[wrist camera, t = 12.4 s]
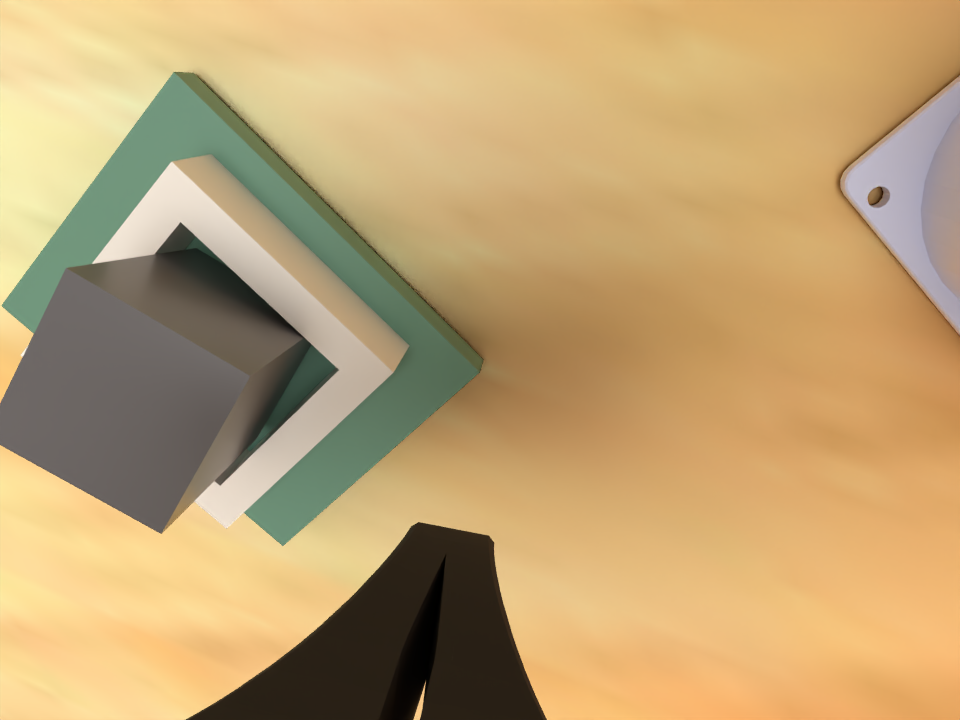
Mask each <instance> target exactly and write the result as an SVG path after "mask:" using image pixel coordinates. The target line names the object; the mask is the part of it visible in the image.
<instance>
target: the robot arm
mask: <svg viewBox="0 0 960 720" xmlns="http://www.w3.org/2000/svg"><path fill="white" fill-rule="evenodd" d="M840 186H841V190H842V192H843V194H844V196H845V197H846V198H847V199H848V200H849V202H850V203H851V204H852V205H853V206H854V208H855V209H856V210H857V211H858V213H859V214H860V215H861V216H862V217H863V219H864V220H865V221H866V222H867V223H868V225H869V226H870V227H871V228H872V230H873V231H874V232H875V233H876V234H877V236H878V237H879V238H880V239H881V241H882V242H883V243H884V244H885V245H886V247H887V248H888V249H889V250H890V251H891V253H892V254H893V255H894V256H895V258H896V259H897V260H898V261H899V262H900V264H901V265H902V266H903V267H904V268H905V270H906V271H907V272H908V273H909V275H910V276H911V277H912V278H913V279H914V281H915V282H916V283H917V284H918V285H919V287H920V288H921V289H922V290H923V292H924V293H925V294H926V295H927V296H928V298H929V299H930V300H931V301H932V302H933V304H934V305H935V306H936V307H937V309H938V310H939V311H940V312H941V313H942V315H943V316H944V317H945V318H946V320H947V321H948V322H949V323H950V324H951V326H952V327H953V328H954V329H955V330H956V332H957V333H958V334H959V335H960V76H958V77H957V78H956V79H955V80H954V81H952V82H951V83H950V84H949V85H947V86H946V87H945V88H944V89H943V90H941V91H940V92H939V93H938V94H936V95H935V96H934V97H933V98H932V99H930V100H929V101H928V102H927V103H925V104H924V105H923V106H922V107H921V108H919V109H918V110H917V111H916V112H914V113H913V114H912V115H911V116H910V117H908V118H907V119H906V120H905V121H903V122H902V123H901V124H900V125H899V126H897V127H896V128H895V129H894V130H892V131H891V132H890V133H889V134H888V135H886V136H885V137H884V138H883V139H881V140H880V141H879V142H878V143H877V144H875V145H874V146H873V147H872V148H870V149H869V150H868V151H867V152H866V153H864V154H863V155H862V156H861V157H860V158H858V159H857V160H856V161H855V162H853V163H852V164H851V165H850V166H849V167H848V168H847V169H846V170H845V171H844V172H843V175H842V177H841V180H840ZM878 186H880V187H882V190H883V197H882V199H881V200H880V201H879V203H877V204H875V205H869V203H868V201H867V198H868V194H869V193H870V191H871V190H872V189H874V188H876V187H878ZM425 682H426V685H425ZM424 685H425V693H424V702H423V710H422V714H421V718H420V720H547V719H546V717H545V715H544V713H543V711H542V709H541V706H540V704H539V702H538V700H537V698H536V696H535V693H534V691H533V689H532V686H531V684H530V681H529V679H528V676H527V674H526V671H525V669H524V666H523V663H522V661H521V658H520V655H519V653H518V650H517V647H516V644H515V641H514V638H513V635H512V632H511V629H510V625H509V622H508V618H507V615H506V611H505V608H504V605H503V601H502V597H501V593H500V588H499V583H498V578H497V573H496V567H495V559H494V542H493V541H492V539H491V538H490V537H489V536H487V535H482V534H477V533H472V532H467V531H461V530H456V529H451V528H446V527H441V526H435V525H430V524H425V523H420V522H418V523H417V524H415V525H413V526H411V528H410V529H409V531H408V532H407V534H406V535H405V537H404V538H403V539H402V541H401V542H400V543H399V545H398V546H397V547H396V548H395V550H394V551H393V552H392V553H391V555H390V556H389V557H388V558H387V559H386V560H385V562H384V563H383V564H382V565H381V566H380V567H379V568H378V569H377V571H376V572H375V573H374V574H373V575H372V576H371V577H370V578H369V579H368V580H367V581H366V582H365V583H364V584H363V585H362V586H361V588H360V589H359V590H358V591H357V592H356V593H355V594H354V595H353V596H352V597H351V598H350V599H349V600H348V601H347V602H346V603H344V604H343V605H342V606H341V607H340V608H339V609H338V610H337V611H336V612H335V613H334V614H333V615H332V616H330V617H329V618H328V619H327V620H326V621H325V622H324V623H323V624H322V625H321V626H320V627H318V628H317V629H316V630H315V631H314V632H313V633H311V634H310V635H309V636H308V637H307V638H305V639H304V640H303V641H302V642H301V643H299V644H298V645H297V646H296V647H294V648H293V649H292V650H290V651H289V652H288V653H287V654H285V655H284V656H283V657H281V658H280V659H279V660H277V661H276V662H275V663H273V664H272V665H271V666H269V667H268V668H266V669H265V670H264V671H262V672H261V673H259V674H258V675H256V676H255V677H254V678H252V679H251V680H249V681H248V682H246V683H245V684H243V685H242V686H241V687H239V688H238V689H236V690H235V691H233V692H231V693H230V694H228V695H227V696H225V697H224V698H222V699H220V700H219V701H217V702H216V703H214V704H212V705H211V706H209V707H207V708H205V709H204V710H202V711H200V712H198V713H197V714H195V715H193V716H191V717H190V718H188V719H186V720H413V719H414V716H415V713H416V710H417V706H418V703H419V700H420V697H421V694H422V691H423V688H424Z"/></svg>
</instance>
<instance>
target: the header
mask: <svg viewBox="0 0 960 720" xmlns="http://www.w3.org/2000/svg"><path fill="white" fill-rule="evenodd" d="M195 236H196V237H197V238H198V239H199V240H200V241H202V242H203V243H204V244H205V245H206V246H207V247H208V248H209V249H210V250H211V251H212V252H213V253H214V254H215V255H217V256H218V257H219V258H220V259H221V260H222V261H223V262H224V263H225V264H226V265H227V266H228V267H229V268H230V269H232V270H233V271H234V272H235V273H236V274H237V275H238V276H239V277H240V278H241V279H242V280H243V281H244V282H245V283H247V284H248V285H249V286H250V287H251V288H252V289H253V290H254V291H255V292H256V293H257V294H258V295H259V296H260V297H262V298H263V299H264V300H265V301H266V302H267V303H268V304H269V305H270V306H271V307H272V308H273V309H274V310H275V311H277V312H278V313H279V314H280V315H281V316H282V317H283V318H284V319H285V320H286V321H287V322H288V323H289V324H290V325H292V326H293V327H294V328H295V329H296V330H297V331H298V332H299V333H300V334H301V335H302V336H303V337H304V338H305V339H307V340H308V341H309V342H310V343H311V344H312V345H313V346H314V347H315V348H316V349H317V350H318V351H319V352H320V353H322V354H323V355H324V356H325V357H326V358H327V359H328V360H329V361H330V362H331V363H332V364H333V365H334V366H335V367H336V368H335V369H334V370H333V371H332V372H331V373H330V374H329V375H328V376H327V377H326V378H325V379H324V380H323V381H322V382H320V383H319V384H318V385H317V386H316V387H315V388H314V389H313V390H312V391H311V392H310V393H309V394H308V395H307V396H306V397H305V398H304V399H303V400H302V401H301V402H300V403H299V404H298V405H297V406H296V407H295V408H294V409H293V410H292V411H291V412H290V413H289V414H288V415H287V416H286V417H285V418H284V419H283V420H282V421H281V422H280V423H279V424H278V425H277V426H276V427H274V428H273V429H272V430H271V431H270V432H269V433H268V434H267V435H266V436H265V437H264V438H263V439H262V440H261V441H260V442H259V443H258V444H257V445H256V446H255V447H254V448H253V449H252V450H251V451H248V450H247V449H246V450H245V451H244V452H243V453H242V454H241V455H240V456H239V457H238V458H237V459H236V460H235V461H234V462H233V463H232V464H231V465H230V466H229V467H228V468H227V469H226V470H225V471H224V472H223V473H222V474H221V475H220V476H219V477H218V478H217V479H216V480H215V481H214V482H213V483H212V484H211V485H210V486H209V487H208V488H207V489H206V490H205V491H204V492H203V493H202V494H201V495H200V496H199V497H198V498H197V499H196V500H195V501H194V502H195V503H197V504H198V505H199V506H200V507H201V508H202V509H204V510H205V511H206V512H207V513H208V514H210V515H211V516H212V517H213V518H214V519H215V520H217V521H218V522H219V523H220V524H221V525H223V526H224V527H225V528H226V529H227V528H228V527H229V526H230V525H231V524H232V523H233V522H234V521H235V520H236V519H237V518H239V517H240V516H241V515H242V514H243V513H244V512H245V511H246V510H247V509H248V508H249V507H250V506H251V505H252V504H253V503H255V502H256V501H257V500H258V499H259V498H260V497H261V496H262V495H263V494H264V493H265V492H266V491H267V490H268V489H270V488H271V487H272V486H273V485H274V484H275V483H276V482H277V481H278V480H279V479H280V478H281V477H282V476H283V475H284V474H286V473H287V472H288V471H289V470H290V469H291V468H292V467H293V466H294V465H295V464H296V463H297V462H298V461H299V460H301V459H302V458H303V457H304V456H305V455H306V454H307V453H308V452H309V451H310V450H311V449H312V448H313V447H314V446H315V445H317V444H318V443H319V442H320V441H321V440H322V439H323V438H324V437H325V436H326V435H327V434H328V433H329V432H330V431H332V430H333V429H334V428H335V427H336V426H337V425H338V424H339V423H340V422H341V421H342V420H343V419H344V418H345V417H346V416H348V415H349V414H350V413H351V412H352V411H353V410H354V409H355V408H356V407H357V406H358V405H359V404H360V403H361V402H363V401H364V400H365V399H366V398H367V397H368V396H369V395H370V394H371V393H372V392H373V391H374V390H375V389H376V388H377V387H379V386H380V385H381V384H382V383H383V382H384V381H385V380H386V379H387V378H388V377H389V376H390V375H391V374H392V373H394V371H395V369H396V368H397V366H398V364H399V363H400V361H401V359H402V358H403V356H404V354H405V353H406V351H407V349H408V347H409V345H408V344H407V343H406V342H405V341H404V340H403V339H402V338H401V337H400V336H399V335H398V334H397V333H396V332H395V331H394V330H393V329H392V328H391V327H390V326H389V325H388V324H387V323H386V322H384V321H383V320H382V319H381V318H380V317H379V316H378V315H377V314H376V313H375V312H374V311H373V310H372V309H371V308H370V307H369V306H368V305H367V304H366V303H365V302H364V301H363V300H362V299H361V298H360V297H359V296H358V295H357V294H356V293H354V292H353V291H352V290H351V289H350V288H349V287H348V286H347V285H346V284H345V283H344V282H343V281H342V280H341V279H340V278H339V277H338V276H337V275H336V274H335V273H334V272H333V271H332V270H331V269H330V268H329V267H328V266H327V265H326V264H324V263H323V262H322V261H321V260H320V259H319V258H318V257H317V256H316V255H315V254H314V253H313V252H312V251H311V250H310V249H309V248H308V247H307V246H306V245H305V244H304V243H303V242H302V241H301V240H300V239H299V238H298V237H297V236H296V235H294V234H293V233H292V232H291V231H290V230H289V229H288V228H287V227H286V226H285V225H284V224H283V223H282V222H281V221H280V220H279V219H278V218H277V217H276V216H275V215H274V214H273V213H272V212H271V211H270V210H269V209H268V208H267V207H266V206H264V205H263V204H262V203H261V202H260V201H259V200H258V199H257V198H256V197H255V196H254V195H253V194H252V193H251V192H250V191H249V190H248V189H247V188H246V187H245V186H244V185H243V184H242V183H241V182H240V181H239V180H238V179H237V178H236V177H234V176H233V175H232V174H231V173H230V172H229V171H228V170H227V169H226V168H225V167H224V166H223V165H222V164H221V163H220V162H219V161H218V160H217V159H216V158H215V157H214V156H213V155H212V154H209V155H204V156H198V157H193V158H188V159H182V160H177V161H172V162H171V163H170V164H169V165H168V167H167V168H166V169H165V170H164V172H163V173H162V174H161V176H160V177H159V178H158V179H157V181H156V182H155V183H154V185H153V186H152V187H151V188H150V190H149V191H148V192H147V194H146V195H145V196H144V197H143V199H142V200H141V201H140V203H139V204H138V205H137V206H136V208H135V209H134V210H133V212H132V213H131V214H130V215H129V217H128V218H127V219H126V221H125V222H124V223H123V224H122V226H121V227H120V228H119V230H118V231H117V232H116V233H115V235H114V236H113V237H112V239H111V240H110V241H109V242H108V244H107V245H106V246H105V247H104V249H103V250H102V251H101V253H100V254H99V255H98V256H97V258H96V259H95V260H94V262H93V263H92V264H95V263H101V262H108V261H114V260H121V259H127V258H134V257H141V256H147V255H154V254H160V253H167V252H173V251H180V250H185V248H186V247H187V246H188V245H189V244H190V242H191V241H192V240H193V239H194V238H195ZM27 347H28V346H27ZM26 349H27V348H26ZM26 349H25V350H24V351H23V353H22V354H21V356H22V357H23V356H24V354H25V351H26Z"/></svg>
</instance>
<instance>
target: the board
mask: <svg viewBox="0 0 960 720" xmlns="http://www.w3.org/2000/svg"><path fill="white" fill-rule="evenodd" d="M209 154H212V155H213V156H214V157H215V158H216V159H217V160H218V161H219V162H220V163H221V164H222V165H223V166H224V167H225V168H226V169H227V170H228V171H229V172H230V173H231V174H232V175H233V176H234V177H236V178H237V179H238V180H239V181H240V182H241V183H242V184H243V185H244V186H245V187H246V188H247V189H248V190H249V191H250V192H251V193H252V194H253V195H254V196H255V197H256V198H257V199H258V200H259V201H260V202H261V203H262V204H263V205H264V206H266V207H267V208H268V209H269V210H270V211H271V212H272V213H273V214H274V215H275V216H276V217H277V218H278V219H279V220H280V221H281V222H282V223H283V224H284V225H285V226H286V227H287V228H288V229H289V230H290V231H291V232H292V233H293V234H294V235H296V236H297V237H298V238H299V239H300V240H301V241H302V242H303V243H304V244H305V245H306V246H307V247H308V248H309V249H310V250H311V251H312V252H313V253H314V254H315V255H316V256H317V257H318V258H319V259H320V260H321V261H322V262H323V263H324V264H326V265H327V266H328V267H329V268H330V269H331V270H332V271H333V272H334V273H335V274H336V275H337V276H338V277H339V278H340V279H341V280H342V281H343V282H344V283H345V284H346V285H347V286H348V287H349V288H350V289H351V290H352V291H353V292H354V293H356V294H357V295H358V296H359V297H360V298H361V299H362V300H363V301H364V302H365V303H366V304H367V305H368V306H369V307H370V308H371V309H372V310H373V311H374V312H375V313H376V314H377V315H378V316H379V317H380V318H381V319H382V320H383V321H384V322H386V323H387V324H388V325H389V326H390V327H391V328H392V329H393V330H394V331H395V332H396V333H397V334H398V335H399V336H400V337H401V338H402V339H403V340H404V341H405V342H406V343H407V344H408V345H409V347H408V349H407V351H406V353H405V354H404V356H403V358H402V359H401V361H400V363H399V364H398V366H397V368H396V369H395V371H394V373H392V374H391V375H390V376H389V377H388V378H387V379H386V380H385V381H384V382H383V383H382V384H381V385H380V386H379V387H377V388H376V389H375V390H374V391H373V392H372V393H371V394H370V395H369V396H368V397H367V398H366V399H365V400H364V401H363V402H361V403H360V404H359V405H358V406H357V407H356V408H355V409H354V410H353V411H352V412H351V413H350V414H349V415H348V416H346V417H345V418H344V419H343V420H342V421H341V422H340V423H339V424H338V425H337V426H336V427H335V428H334V429H333V430H332V431H330V432H329V433H328V434H327V435H326V436H325V437H324V438H323V439H322V440H321V441H320V442H319V443H318V444H317V445H315V446H314V447H313V448H312V449H311V450H310V451H309V452H308V453H307V454H306V455H305V456H304V457H303V458H302V459H301V460H299V461H298V462H297V463H296V464H295V465H294V466H293V467H292V468H291V469H290V470H289V471H288V472H287V473H286V474H284V475H283V476H282V477H281V478H280V479H279V480H278V481H277V482H276V483H275V484H274V485H273V486H272V487H271V488H270V489H268V490H267V491H266V492H265V493H264V494H263V495H262V496H261V497H260V498H259V499H258V500H257V501H256V502H255V503H253V504H252V505H251V506H250V507H249V508H248V509H247V510H246V511H245V512H244V513H245V514H246V515H247V516H248V517H249V518H251V519H252V520H253V521H254V522H255V523H256V524H258V525H259V526H260V527H261V528H262V529H263V530H265V531H266V532H267V533H268V534H269V535H270V536H272V537H273V538H274V539H275V540H276V541H278V542H279V543H280V544H281V545H282V546H283V545H285V544H286V543H287V542H288V541H289V540H290V539H291V538H293V537H294V536H295V535H296V534H297V533H298V532H299V531H300V530H302V529H303V528H304V527H305V526H306V525H307V524H308V523H310V522H311V521H312V520H313V519H314V518H315V517H316V516H317V515H319V514H320V513H321V512H322V511H323V510H324V509H325V508H327V507H328V506H329V505H330V504H331V503H332V502H333V501H334V500H336V499H337V498H338V497H339V496H340V495H341V494H342V493H344V492H345V491H346V490H347V489H348V488H349V487H350V486H352V485H353V484H354V483H355V482H356V481H357V480H358V479H359V478H361V477H362V476H363V475H364V474H365V473H366V472H367V471H369V470H370V469H371V468H372V467H373V466H374V465H375V464H376V463H378V462H379V461H380V460H381V459H382V458H383V457H384V456H386V455H387V454H388V453H389V452H390V451H391V450H392V449H393V448H395V447H396V446H397V445H398V444H399V443H400V442H401V441H403V440H404V439H405V438H406V437H407V436H408V435H409V434H410V433H412V432H413V431H414V430H415V429H416V428H417V427H418V426H420V425H421V424H422V423H423V422H424V421H425V420H426V419H427V418H429V417H430V416H431V415H432V414H433V413H434V412H435V411H437V410H438V409H439V408H440V407H441V406H442V405H443V404H444V403H446V402H447V401H448V400H449V399H450V398H451V397H452V396H454V395H455V394H456V393H457V392H458V391H459V390H460V389H461V388H463V387H464V386H465V385H466V384H467V383H468V382H469V381H471V380H472V379H473V378H474V377H475V376H476V375H477V374H478V373H480V370H481V366H482V363H483V359H482V358H481V357H480V356H479V355H478V354H477V353H476V352H475V351H474V350H473V349H472V348H471V347H470V346H469V345H468V344H467V343H466V342H465V341H464V340H463V339H462V338H461V337H460V336H459V335H458V334H457V333H456V332H455V331H454V330H453V329H452V328H451V327H450V326H449V325H448V324H447V323H446V322H445V321H444V320H443V319H442V318H441V317H440V316H439V315H438V314H437V313H436V312H435V311H434V310H433V309H432V308H431V307H430V306H429V305H428V304H427V303H426V302H425V301H424V300H423V299H422V298H421V297H420V296H419V295H418V294H417V293H416V292H415V291H414V290H413V289H412V288H411V287H410V286H409V285H408V284H406V283H405V282H404V281H403V280H402V279H401V278H400V277H399V276H398V275H397V274H396V273H395V272H394V271H393V270H392V269H391V268H390V267H389V266H388V265H387V264H386V263H385V262H384V261H383V260H382V259H381V258H380V257H379V256H378V255H377V254H376V253H375V252H374V251H373V250H372V249H371V248H370V247H369V246H368V245H367V244H366V243H365V242H364V241H363V240H362V239H361V238H360V237H359V236H358V235H357V234H356V233H355V232H354V231H353V230H352V229H351V228H350V227H349V226H348V225H347V224H346V223H345V222H344V221H343V220H342V219H341V218H340V217H339V216H338V215H337V214H336V213H335V212H334V211H333V210H332V209H331V208H330V207H329V206H328V205H327V204H326V203H325V202H324V201H323V200H321V199H320V198H319V197H318V196H317V195H316V194H315V193H314V192H313V191H312V190H311V189H310V188H309V187H308V186H307V185H306V184H305V183H304V182H303V181H302V180H301V179H300V178H299V177H298V176H297V175H296V174H295V173H294V172H293V171H292V170H291V169H290V168H289V167H288V166H287V165H286V164H285V163H284V162H283V161H282V160H281V159H280V158H279V157H278V156H277V155H276V154H275V153H274V152H273V151H272V150H271V149H270V148H269V147H268V146H267V145H266V144H265V143H264V142H263V141H262V140H261V139H260V138H259V137H258V136H257V135H256V134H255V133H254V132H253V131H252V130H251V129H250V128H249V127H248V126H247V125H246V124H245V123H244V122H243V121H242V120H241V119H240V118H239V117H238V116H236V115H235V114H234V113H233V112H232V111H231V110H230V109H229V108H228V107H227V106H226V105H225V104H224V103H223V102H222V101H221V100H220V99H219V98H218V97H217V96H216V95H215V94H214V93H213V92H212V91H211V90H210V89H209V88H208V87H207V86H206V85H205V84H204V83H203V82H202V81H201V80H200V79H199V78H198V77H197V76H196V75H195V74H194V73H184V72H174V73H173V74H172V75H171V77H170V78H169V79H168V81H167V82H166V83H165V85H164V86H163V88H162V89H161V90H160V92H159V93H158V94H157V96H156V97H155V98H154V100H153V101H152V102H151V104H150V105H149V107H148V108H147V109H146V111H145V112H144V113H143V115H142V116H141V117H140V119H139V120H138V121H137V123H136V124H135V125H134V127H133V128H132V130H131V131H130V132H129V134H128V135H127V136H126V138H125V139H124V140H123V142H122V143H121V144H120V146H119V147H118V149H117V150H116V151H115V153H114V154H113V155H112V157H111V158H110V159H109V161H108V162H107V163H106V165H105V166H104V167H103V169H102V170H101V172H100V173H99V174H98V176H97V177H96V178H95V180H94V181H93V182H92V184H91V185H90V186H89V188H88V189H87V191H86V192H85V193H84V195H83V196H82V197H81V199H80V200H79V201H78V203H77V204H76V205H75V207H74V208H73V209H72V211H71V212H70V214H69V215H68V216H67V218H66V219H65V220H64V222H63V223H62V224H61V226H60V227H59V228H58V230H57V231H56V233H55V234H54V235H53V237H52V238H51V239H50V241H49V242H48V243H47V245H46V246H45V247H44V249H43V250H42V251H41V253H40V254H39V256H38V257H37V258H36V260H35V261H34V262H33V264H32V265H31V266H30V268H29V269H28V270H27V272H26V273H25V275H24V276H23V277H22V279H21V280H20V281H19V283H18V284H17V285H16V287H15V288H14V289H13V291H12V292H11V293H10V295H9V296H8V298H7V299H6V300H5V302H4V303H3V304H2V307H3V308H5V309H6V310H7V311H8V312H9V313H10V314H12V315H13V316H14V317H15V318H16V319H17V320H19V321H20V322H21V323H22V324H23V325H24V326H26V327H27V328H28V329H29V330H30V331H31V332H33V333H35V331H36V329H37V327H38V325H39V323H40V320H41V318H42V316H43V314H44V312H45V310H46V308H47V306H48V304H49V302H50V300H51V298H52V296H53V294H54V292H55V289H56V287H57V285H58V283H59V281H60V279H61V277H62V275H63V273H64V271H65V269H66V268H68V267H75V266H82V265H88V264H92V263H93V262H94V260H95V259H96V258H97V256H98V255H99V254H100V253H101V251H102V250H103V249H104V247H105V246H106V245H107V244H108V242H109V241H110V240H111V239H112V237H113V236H114V235H115V233H116V232H117V231H118V230H119V228H120V227H121V226H122V224H123V223H124V222H125V221H126V219H127V218H128V217H129V215H130V214H131V213H132V212H133V210H134V209H135V208H136V206H137V205H138V204H139V203H140V201H141V200H142V199H143V197H144V196H145V195H146V194H147V192H148V191H149V190H150V188H151V187H152V186H153V185H154V183H155V182H156V181H157V179H158V178H159V177H160V176H161V174H162V173H163V172H164V170H165V169H166V168H167V167H168V165H169V164H170V163H171V162H172V161H177V160H182V159H188V158H193V157H198V156H204V155H209ZM193 248H197V249H199V250H200V251H202V252H204V253H205V254H207V255H209V256H210V257H212V258H214V259H215V260H217V261H219V262H220V263H222V264H224V265H225V266H227V265H226V264H225V263H224V262H223V261H222V260H221V259H220V258H219V257H218V256H217V255H215V254H214V253H213V252H212V251H211V250H210V249H209V248H208V247H207V246H206V245H205V244H204V243H203V242H202V241H200V240H199V239H198V238H197V237H196V236H195V238H194V239H193V240H192V241H191V242H190V244H189V245H188V246H187V247H186V248H185V250H186V249H193ZM227 267H228V266H227ZM335 368H336V367H335V366H334V365H333V364H332V363H331V362H330V361H329V360H328V359H327V358H326V357H325V356H324V355H323V354H322V353H320V352H319V351H318V350H317V349H316V348H315V347H314V346H313V345H312V344H311V346H310V348H309V349H308V351H307V353H306V355H305V356H304V358H303V360H302V361H301V363H300V365H299V367H298V368H297V370H296V372H295V374H294V375H293V377H292V379H291V380H290V382H289V384H288V386H287V387H286V389H285V391H284V393H283V394H282V396H281V398H280V399H279V401H278V403H277V405H276V406H275V408H274V410H273V412H272V413H271V415H270V417H269V418H268V420H267V422H266V424H265V425H264V427H263V429H262V431H261V432H260V434H259V436H258V437H257V439H256V440H255V441H254V442H253V443H252V444H251V445H250V446H249V447H248V448H247V450H248V451H251V450H252V449H253V448H254V447H255V446H256V445H257V444H258V443H259V442H260V441H261V440H262V439H263V438H264V437H265V436H266V435H267V434H268V433H269V432H270V431H271V430H272V429H273V428H274V427H276V426H277V425H278V424H279V423H280V422H281V421H282V420H283V419H284V418H285V417H286V416H287V415H288V414H289V413H290V412H291V411H292V410H293V409H294V408H295V407H296V406H297V405H298V404H299V403H300V402H301V401H302V400H303V399H304V398H305V397H306V396H307V395H308V394H309V393H310V392H311V391H312V390H313V389H314V388H315V387H316V386H317V385H318V384H319V383H320V382H322V381H323V380H324V379H325V378H326V377H327V376H328V375H329V374H330V373H331V372H332V371H333V370H334V369H335Z"/></svg>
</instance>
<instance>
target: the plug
mask: <svg viewBox="0 0 960 720" xmlns="http://www.w3.org/2000/svg"><path fill="white" fill-rule="evenodd" d="M310 346H311V343H310V342H309V341H308V340H307V339H305V338H304V337H303V336H302V335H301V334H300V333H299V332H298V331H297V330H296V329H295V328H294V327H293V326H292V325H290V324H289V323H288V322H287V321H286V320H285V319H284V318H283V317H282V316H281V315H280V314H279V313H278V312H277V311H275V310H274V309H273V308H272V307H271V306H270V305H269V304H268V303H267V302H266V301H265V300H264V299H263V298H262V297H260V296H259V295H258V294H257V293H256V292H255V291H254V290H253V289H252V288H251V287H250V286H249V285H248V284H247V283H245V282H244V281H243V280H242V279H241V278H240V277H239V276H238V275H237V274H236V273H235V272H234V271H233V270H232V269H230V268H229V267H227V266H225V265H224V264H222V263H220V262H219V261H217V260H215V259H214V258H212V257H210V256H209V255H207V254H205V253H204V252H202V251H200V250H199V249H197V248H193V249H186V250H180V251H173V252H167V253H160V254H154V255H147V256H141V257H134V258H127V259H121V260H114V261H108V262H101V263H95V264H88V265H82V266H75V267H68V268H66V269H65V271H64V273H63V275H62V277H61V279H60V281H59V283H58V285H57V287H56V289H55V292H54V294H53V296H52V298H51V300H50V302H49V304H48V306H47V308H46V310H45V312H44V314H43V316H42V318H41V320H40V323H39V325H38V327H37V329H36V331H35V333H34V335H33V337H32V339H31V341H30V343H29V345H28V347H27V349H26V351H25V354H24V356H23V358H22V360H21V362H20V364H19V366H18V368H17V370H16V372H15V374H14V376H13V378H12V380H11V382H10V385H9V387H8V389H7V391H6V393H5V395H4V397H3V399H2V401H1V403H0V445H1V446H3V447H5V448H7V449H9V450H10V451H12V452H14V453H16V454H18V455H19V456H21V457H23V458H25V459H27V460H28V461H30V462H32V463H34V464H36V465H37V466H39V467H41V468H43V469H45V470H47V471H48V472H50V473H52V474H54V475H56V476H57V477H59V478H61V479H63V480H65V481H66V482H68V483H70V484H72V485H74V486H75V487H77V488H79V489H81V490H83V491H85V492H86V493H88V494H90V495H92V496H94V497H95V498H97V499H99V500H101V501H103V502H104V503H106V504H108V505H110V506H112V507H113V508H115V509H117V510H119V511H121V512H123V513H124V514H126V515H128V516H130V517H132V518H133V519H135V520H137V521H139V522H141V523H142V524H144V525H146V526H148V527H150V528H151V529H153V530H155V531H157V532H159V533H161V534H162V533H163V532H164V531H165V530H166V529H167V528H168V527H169V526H170V525H171V524H172V523H173V522H174V521H175V520H176V519H177V518H178V517H179V516H180V515H181V514H182V513H183V512H184V511H185V510H186V509H187V508H188V507H189V506H190V505H191V504H192V503H193V502H194V501H195V500H196V499H197V498H198V497H199V496H200V495H201V494H202V493H203V492H204V491H205V490H206V489H207V488H208V487H209V486H210V485H211V484H212V483H213V482H214V481H215V480H216V479H217V478H218V477H219V476H220V475H221V474H222V473H223V472H224V471H225V470H226V469H227V468H228V467H229V466H230V465H231V464H232V463H233V462H234V461H235V460H236V459H237V458H238V457H239V456H240V455H241V454H242V453H243V452H244V451H245V450H246V449H247V448H248V447H249V446H250V445H251V444H252V443H253V442H254V441H255V440H256V439H257V437H258V436H259V434H260V432H261V431H262V429H263V427H264V425H265V424H266V422H267V420H268V418H269V417H270V415H271V413H272V412H273V410H274V408H275V406H276V405H277V403H278V401H279V399H280V398H281V396H282V394H283V393H284V391H285V389H286V387H287V386H288V384H289V382H290V380H291V379H292V377H293V375H294V374H295V372H296V370H297V368H298V367H299V365H300V363H301V361H302V360H303V358H304V356H305V355H306V353H307V351H308V349H309V348H310Z"/></svg>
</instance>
